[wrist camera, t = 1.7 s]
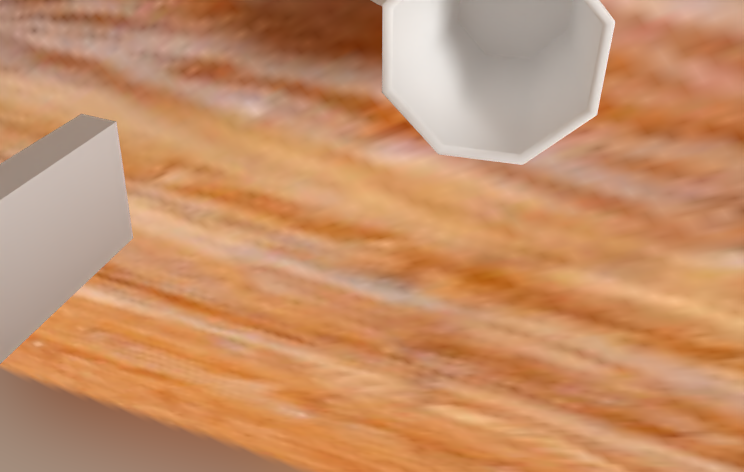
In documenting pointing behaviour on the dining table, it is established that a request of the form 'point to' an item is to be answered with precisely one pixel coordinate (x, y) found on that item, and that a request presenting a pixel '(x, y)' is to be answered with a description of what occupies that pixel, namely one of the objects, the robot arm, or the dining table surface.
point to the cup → (495, 71)
